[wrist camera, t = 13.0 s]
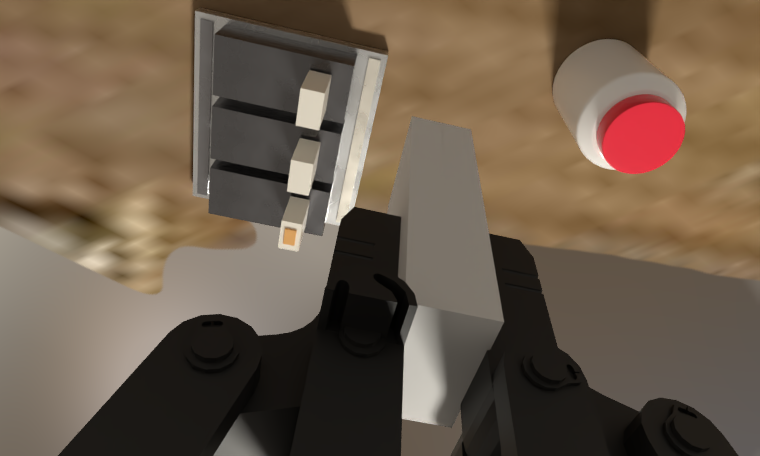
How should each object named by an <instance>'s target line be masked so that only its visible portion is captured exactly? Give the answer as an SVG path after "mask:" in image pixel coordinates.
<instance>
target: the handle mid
mask: <svg viewBox="0 0 760 456" xmlns="http://www.w3.org/2000/svg"><path fill="white" fill-rule="evenodd" d="M320 143H321V142H316V141H312V140H307V139H303V138H300V139H299V141H298V144H297V146H296V149H295V151H294V154H293V156H292V159H291V164H290V172H289V179H288V187H287V192H292V193H297V194H302V195H307V196H309V193H310V189H311V186H312V183H313V180H314V176H315V173H316V168H317V162H318V156H319V149H320Z"/></svg>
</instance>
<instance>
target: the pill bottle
mask: <svg viewBox="0 0 760 456" xmlns="http://www.w3.org/2000/svg"><path fill="white" fill-rule="evenodd" d="M552 95H553V100H554V104H555V106H556V108H557V110H558V112H559V114H560V116H561V117H562V119H563V121H564V122H565V124H566V126H567V128H568V129H569V131H570V133H571V135H572V136H573V138H574V140H575V142H576V143H577V145H578V147H579V149H580V150H581V152H582V153H583V154H584V156H585V157H586V158H587V159H588V160H590V161H591V162H592V163H594V164H596V165H598V166H600V167H602V168H606V169H610V170H618V171H620V172H624V173H629V174H638V173H644V172H648V171H651V170H654V169H656V168H658V167H660V166H661V165H663V164H665V163H666V162H667V161H668V160H670V159H671V158H672V157H673V156H674V155H675V153H676V152H677V151H678V149H679V148H680V146H681V144H682V141H683V139H684V134H685V124H684V123H685V119H686V102H685V99H684V95H683V93H682V92H681V90H680V88H679V87H678V86H677V85H676V84H675V83H674V82H673V81H672V80H671V79H670V78H669V77H668V76H666V75H665V74H664V73H663V72H662V71H661V70H660V69H658V68H657V67H656V66H655V65H654V64H653V63H651V62H650V61H649V60H648V59H647V58H646V57H644V56H643V55H642V54H641V53H640V52H639V51H637V50H636V49H635V48H634V47H633V46H631V45H629V44H628V43H626V42H623V41H620V40H616V39H602V40H596V41H593V42H590V43H587V44H585V45H583V46H582V47H580V48H578V49H577V50H575V51H574V52H573V53H571V54H570V55H569V56H568V57H567V58H566V60H565V61H564V62H563V63H562V65H561V66H560V68H559V69H558V71H557V74H556V76H555V79H554V83H553V93H552Z"/></svg>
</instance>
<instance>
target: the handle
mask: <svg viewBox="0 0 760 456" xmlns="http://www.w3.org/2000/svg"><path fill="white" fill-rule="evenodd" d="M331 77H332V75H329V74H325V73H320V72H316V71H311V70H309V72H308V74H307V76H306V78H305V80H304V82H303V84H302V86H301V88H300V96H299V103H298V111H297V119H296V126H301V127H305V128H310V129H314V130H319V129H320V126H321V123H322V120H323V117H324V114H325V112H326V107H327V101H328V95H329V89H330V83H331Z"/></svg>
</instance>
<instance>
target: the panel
mask: <svg viewBox="0 0 760 456" xmlns="http://www.w3.org/2000/svg"><path fill="white" fill-rule="evenodd" d="M388 52H389V51H385V50H381V49H377V48H372V47H368V46H364V45H360V44H355V43H351V42H347V41H342V40H338V39H334V38H329V37H325V36H321V35H317V34H312V33H308V32H304V31H299V30H295V29H291V28H286V27H282V26H278V25H274V24H269V23H265V22H261V21H256V20H252V19H248V18H244V17H239V16H235V15H231V14H226V13H222V12H218V11H213V10H209V9H205V8H201V7H200V8H198V9H197V10H195V58H194V140H193V196H197V197H202V198H207V199H209V213H210V214H215V215H220V216H225V217H230V218H235V219H240V220H245V221H250V222H255V223H260V224H265V225H270V226H275V227H280V228H281V222H282V218H283V215H284V213H285V210H286V207H287V204H288V202H289V199H290V196H293V197H298V198H302V199H307V200H310V202H309V208H308V215H307V221H306V227H305V230H304V232H305V233H309V234H314V235H319V236H322V235H323V231H324V227H325V223H329V224H334V225H339V226H340V222H341V219H342V218H343V217H344V216H345V215H346V214H347V213H348V212H349V211H350V210H351V209H352V208H353V207H354V206H355V202H356V197H357V193H358V188H359V184H360V179H361V175H362V170H363V166H364V161H365V157H366V152H367V148H368V143H369V139H370V134H371V130H372V125H373V121H374V116H375V112H376V107H377V103H378V98H379V94H380V89H381V85H382V80H383V76H384V71H385V67H386V62H387V58H388ZM309 70H311V71H316V72H320V73H325V74H329V75H332V77H331V83H330V89H329V95H328V101H327V107H326V112H325V114H324V117H323V120H322V123H321V126H320V129H319V130H314V129H310V128H305V127H301V126H296V119H297V111H298V103H299V96H300V88H301V86H302V84H303V82H304V80H305V78H306V76H307V74H308V72H309ZM300 138H303V139H307V140H312V141H316V142H321V143H320V149H319V156H318V162H317V168H316V173H315V176H314V180H313V183H312V186H311V189H310V193H309V196H307V195H302V194H297V193H292V192H287V187H288V179H289V172H290V164H291V159H292V156H293V154H294V151H295V149H296V146H297V144H298V141H299V139H300Z"/></svg>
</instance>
